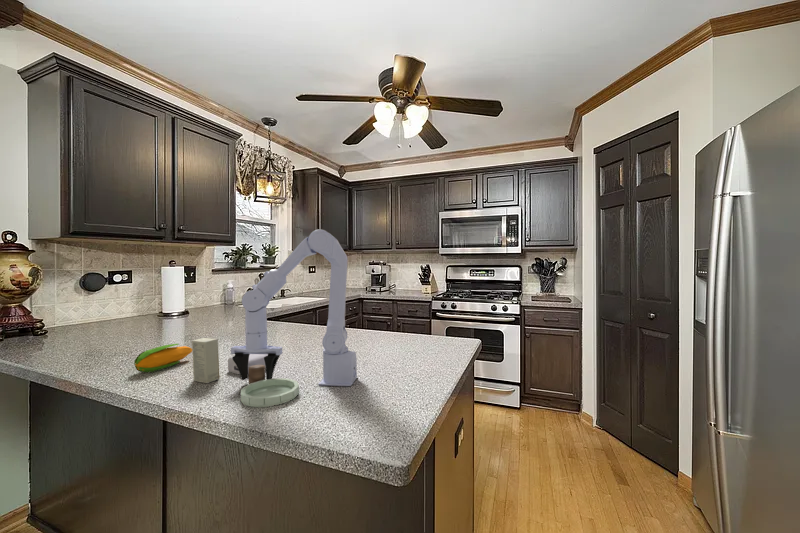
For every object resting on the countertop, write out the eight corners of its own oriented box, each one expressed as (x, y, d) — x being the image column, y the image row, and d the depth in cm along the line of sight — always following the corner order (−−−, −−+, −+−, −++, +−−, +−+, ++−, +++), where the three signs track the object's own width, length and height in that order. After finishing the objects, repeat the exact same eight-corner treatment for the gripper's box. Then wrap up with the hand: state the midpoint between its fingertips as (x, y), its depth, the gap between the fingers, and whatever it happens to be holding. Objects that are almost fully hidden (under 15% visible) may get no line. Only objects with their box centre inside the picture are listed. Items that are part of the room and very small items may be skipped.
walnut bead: (268, 381, 101) (267, 364, 101) (260, 387, 97) (260, 369, 96) (253, 381, 101) (253, 364, 101) (245, 386, 97) (245, 369, 97)
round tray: (306, 386, 96) (306, 379, 96) (284, 408, 83) (284, 399, 83) (258, 385, 98) (258, 377, 98) (229, 406, 84) (229, 397, 84)
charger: (284, 363, 120) (247, 376, 106) (265, 359, 124) (227, 372, 111) (284, 349, 120) (247, 361, 106) (265, 346, 124) (227, 357, 111)
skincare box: (220, 379, 103) (219, 338, 103) (206, 384, 99) (205, 342, 99) (205, 376, 106) (205, 336, 106) (191, 381, 102) (191, 340, 102)
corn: (126, 350, 107) (183, 337, 127) (126, 375, 108) (182, 357, 127) (144, 354, 105) (199, 339, 125) (144, 378, 106) (198, 360, 125)
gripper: (286, 329, 102) (287, 375, 102) (240, 328, 103) (240, 373, 104) (275, 334, 95) (276, 383, 95) (225, 333, 96) (226, 382, 97)
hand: (257, 379), depth 99 cm, fingers open, 7 cm apart
